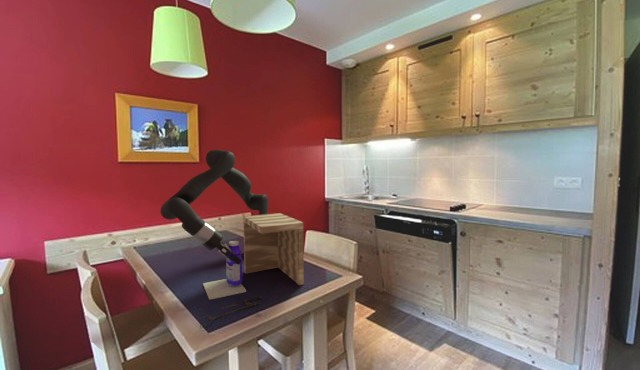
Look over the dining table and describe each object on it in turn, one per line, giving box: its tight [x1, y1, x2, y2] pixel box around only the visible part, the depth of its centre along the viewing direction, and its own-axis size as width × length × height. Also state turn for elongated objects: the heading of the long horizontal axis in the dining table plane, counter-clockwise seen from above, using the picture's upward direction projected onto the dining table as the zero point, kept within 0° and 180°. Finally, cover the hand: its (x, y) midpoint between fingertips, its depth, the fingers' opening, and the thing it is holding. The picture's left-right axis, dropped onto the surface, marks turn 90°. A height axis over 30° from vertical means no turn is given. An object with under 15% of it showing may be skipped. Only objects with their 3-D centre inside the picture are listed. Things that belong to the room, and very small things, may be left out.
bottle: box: [225, 240, 244, 285], centre depth 122 cm, size 7×6×17 cm
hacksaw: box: [199, 295, 263, 329], centre depth 102 cm, size 24×10×2 cm, turn 124°
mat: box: [202, 278, 247, 300], centre depth 121 cm, size 16×14×1 cm
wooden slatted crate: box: [242, 212, 305, 286], centre depth 130 cm, size 26×18×26 cm
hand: (237, 259), depth 123 cm, fingers closed on bottle, 7 cm apart
